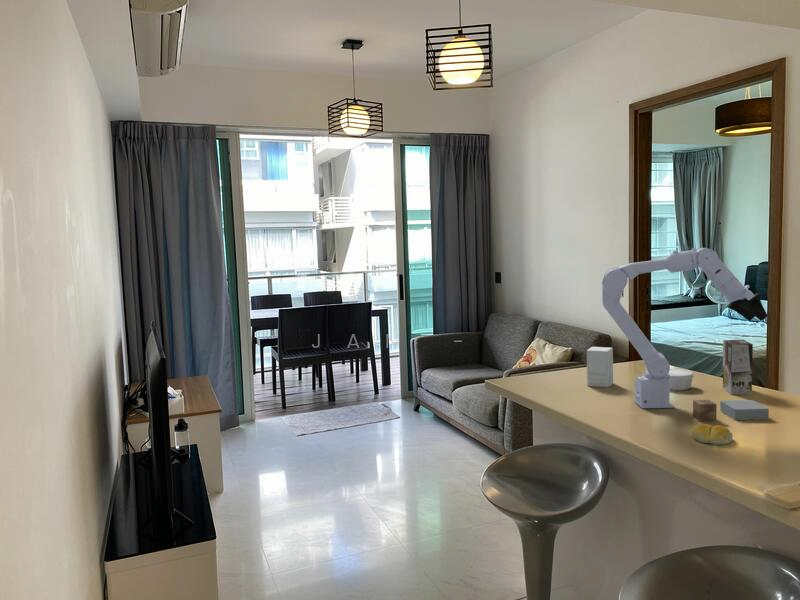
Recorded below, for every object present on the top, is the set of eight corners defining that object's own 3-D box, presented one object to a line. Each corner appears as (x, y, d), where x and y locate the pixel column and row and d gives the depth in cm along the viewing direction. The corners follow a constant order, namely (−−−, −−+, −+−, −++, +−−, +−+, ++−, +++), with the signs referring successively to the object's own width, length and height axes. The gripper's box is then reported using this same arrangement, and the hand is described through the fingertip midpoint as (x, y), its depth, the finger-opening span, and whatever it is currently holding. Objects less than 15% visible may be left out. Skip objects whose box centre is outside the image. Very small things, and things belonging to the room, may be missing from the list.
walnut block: (699, 422, 174) (699, 404, 174) (692, 417, 179) (693, 399, 178) (716, 421, 174) (716, 403, 174) (709, 416, 179) (709, 399, 178)
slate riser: (734, 420, 175) (734, 409, 174) (720, 410, 184) (720, 400, 183) (768, 419, 174) (768, 408, 174) (752, 410, 183) (752, 400, 183)
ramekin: (653, 389, 210) (653, 373, 210) (660, 382, 220) (660, 367, 219) (690, 393, 204) (690, 377, 204) (695, 385, 213) (695, 370, 213)
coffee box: (752, 395, 199) (753, 344, 197) (730, 394, 200) (731, 344, 198) (743, 387, 208) (744, 339, 206) (721, 387, 209) (722, 339, 207)
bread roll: (696, 433, 166) (697, 418, 166) (734, 439, 160) (734, 423, 160) (687, 441, 160) (687, 426, 159) (726, 448, 154) (727, 432, 154)
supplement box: (613, 383, 220) (613, 347, 219) (608, 388, 214) (608, 351, 213) (592, 381, 224) (592, 346, 223) (586, 385, 218) (586, 349, 217)
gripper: (748, 271, 175) (782, 309, 174) (726, 275, 190) (757, 310, 189) (727, 287, 176) (761, 325, 175) (708, 290, 190) (738, 325, 189)
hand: (758, 318), depth 182 cm, fingers open, 7 cm apart
